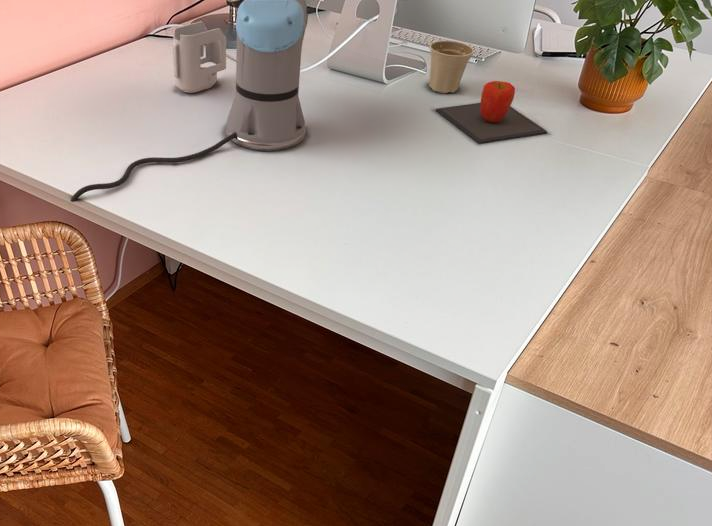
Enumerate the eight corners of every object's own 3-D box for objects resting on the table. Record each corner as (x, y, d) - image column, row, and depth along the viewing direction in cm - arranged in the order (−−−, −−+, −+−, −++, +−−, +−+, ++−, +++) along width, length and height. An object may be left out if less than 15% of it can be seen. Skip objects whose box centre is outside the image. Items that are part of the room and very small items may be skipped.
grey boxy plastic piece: (228, 83, 154) (228, 25, 146) (185, 98, 148) (182, 38, 140) (208, 74, 158) (207, 17, 149) (165, 88, 151) (161, 29, 143)
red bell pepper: (494, 111, 146) (503, 75, 141) (513, 123, 142) (524, 86, 137) (469, 115, 144) (478, 79, 139) (488, 128, 140) (498, 90, 135)
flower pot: (462, 81, 159) (471, 41, 153) (467, 98, 152) (477, 57, 146) (420, 78, 160) (427, 38, 154) (423, 95, 153) (431, 54, 147)
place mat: (478, 143, 136) (479, 141, 136) (435, 110, 147) (436, 108, 147) (547, 133, 140) (547, 131, 140) (500, 101, 151) (500, 99, 151)
